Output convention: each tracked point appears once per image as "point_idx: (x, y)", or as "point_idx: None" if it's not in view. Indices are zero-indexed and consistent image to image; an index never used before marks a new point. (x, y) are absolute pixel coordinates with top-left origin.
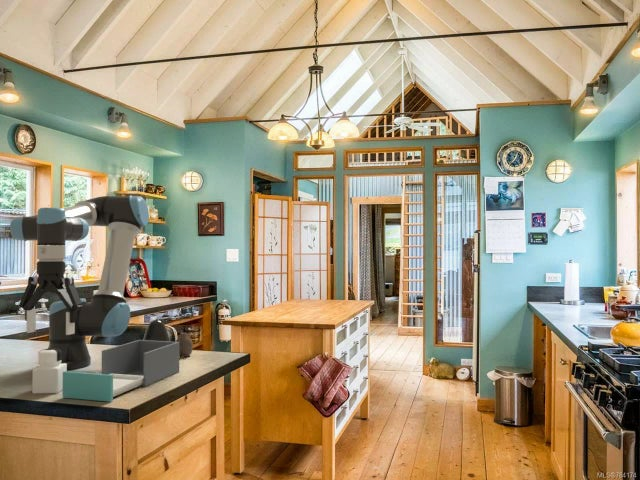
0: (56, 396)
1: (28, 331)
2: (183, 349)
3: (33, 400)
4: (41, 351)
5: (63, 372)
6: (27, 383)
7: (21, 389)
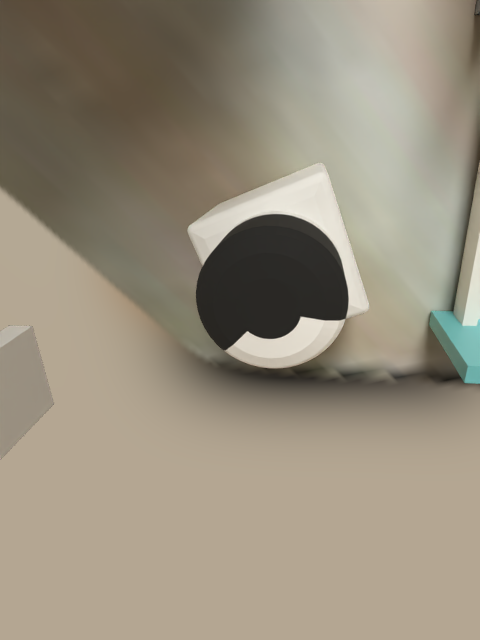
0: (383, 307)
1: (44, 410)
2: None
3: (331, 370)
4: (245, 356)
5: (469, 381)
6: (91, 163)
7: (157, 257)
